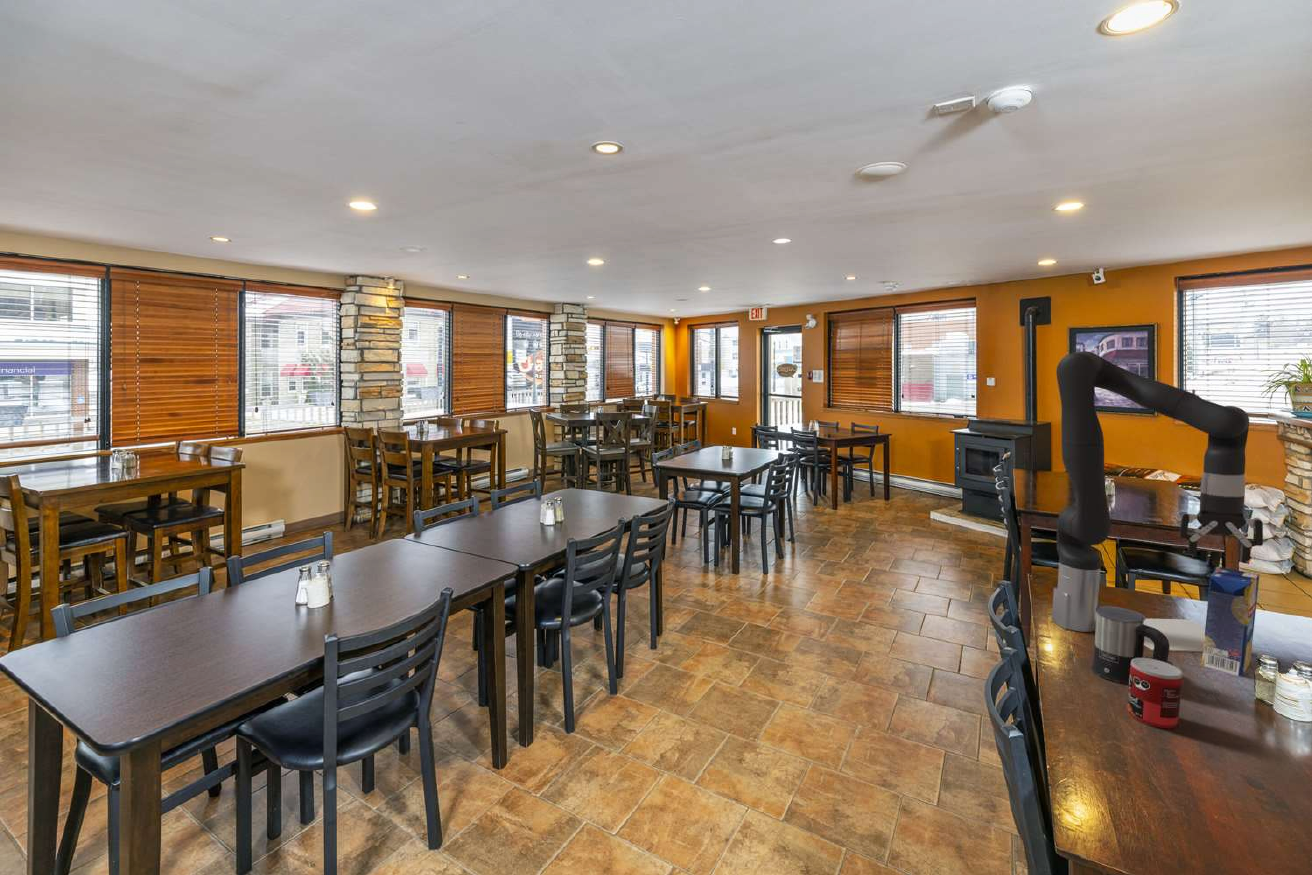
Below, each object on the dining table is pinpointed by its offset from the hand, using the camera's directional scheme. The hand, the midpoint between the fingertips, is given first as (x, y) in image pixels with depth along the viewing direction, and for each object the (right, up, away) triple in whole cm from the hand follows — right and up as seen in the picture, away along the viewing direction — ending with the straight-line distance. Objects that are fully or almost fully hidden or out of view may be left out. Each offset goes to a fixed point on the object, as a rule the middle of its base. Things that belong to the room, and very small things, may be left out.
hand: (1218, 558), depth 141 cm
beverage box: (+3, -26, +2) cm, 26 cm away
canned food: (-33, -28, -21) cm, 48 cm away
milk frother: (-23, -26, -3) cm, 35 cm away
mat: (+4, -24, +18) cm, 30 cm away
